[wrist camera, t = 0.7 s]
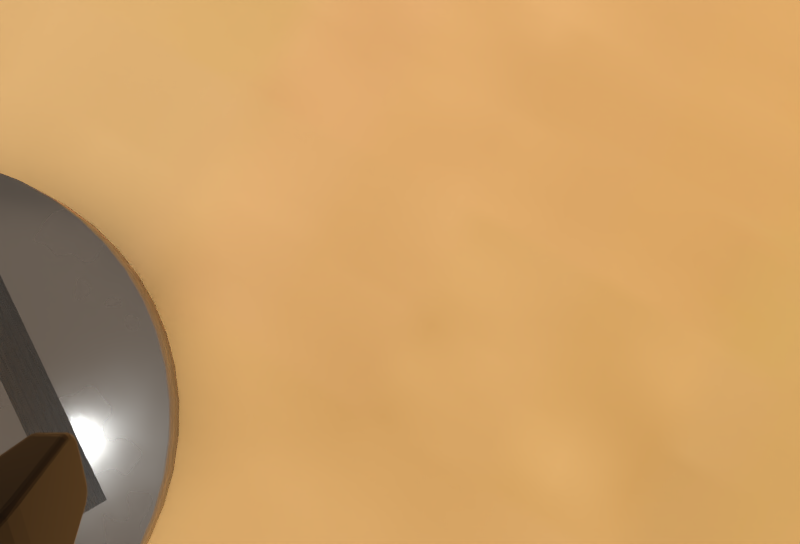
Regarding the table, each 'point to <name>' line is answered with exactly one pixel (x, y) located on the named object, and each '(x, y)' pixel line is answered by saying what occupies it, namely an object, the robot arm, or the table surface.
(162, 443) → the grey peg hole base
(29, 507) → the robot arm
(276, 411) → the table surface
